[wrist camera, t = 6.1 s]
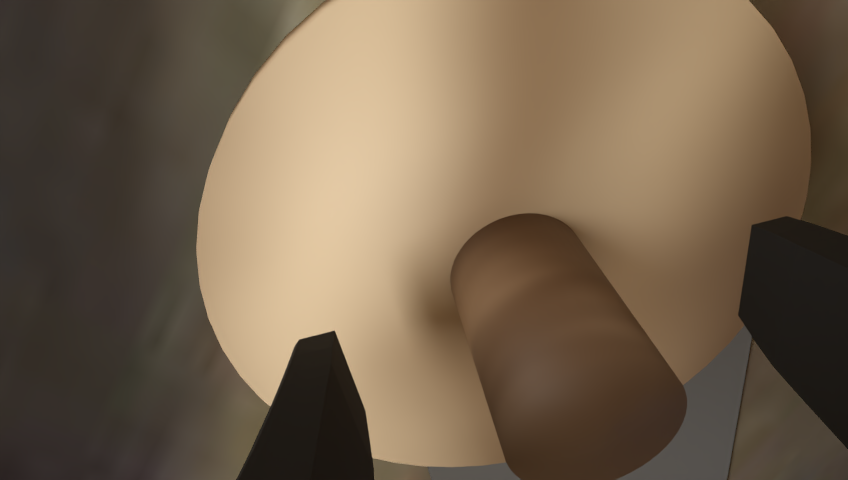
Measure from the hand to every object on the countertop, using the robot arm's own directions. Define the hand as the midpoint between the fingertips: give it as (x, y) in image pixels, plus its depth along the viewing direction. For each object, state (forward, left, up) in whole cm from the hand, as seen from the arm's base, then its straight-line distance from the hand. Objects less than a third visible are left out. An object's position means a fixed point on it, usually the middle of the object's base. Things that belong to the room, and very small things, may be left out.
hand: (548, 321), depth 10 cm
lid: (0, 0, -3) cm, 3 cm away
